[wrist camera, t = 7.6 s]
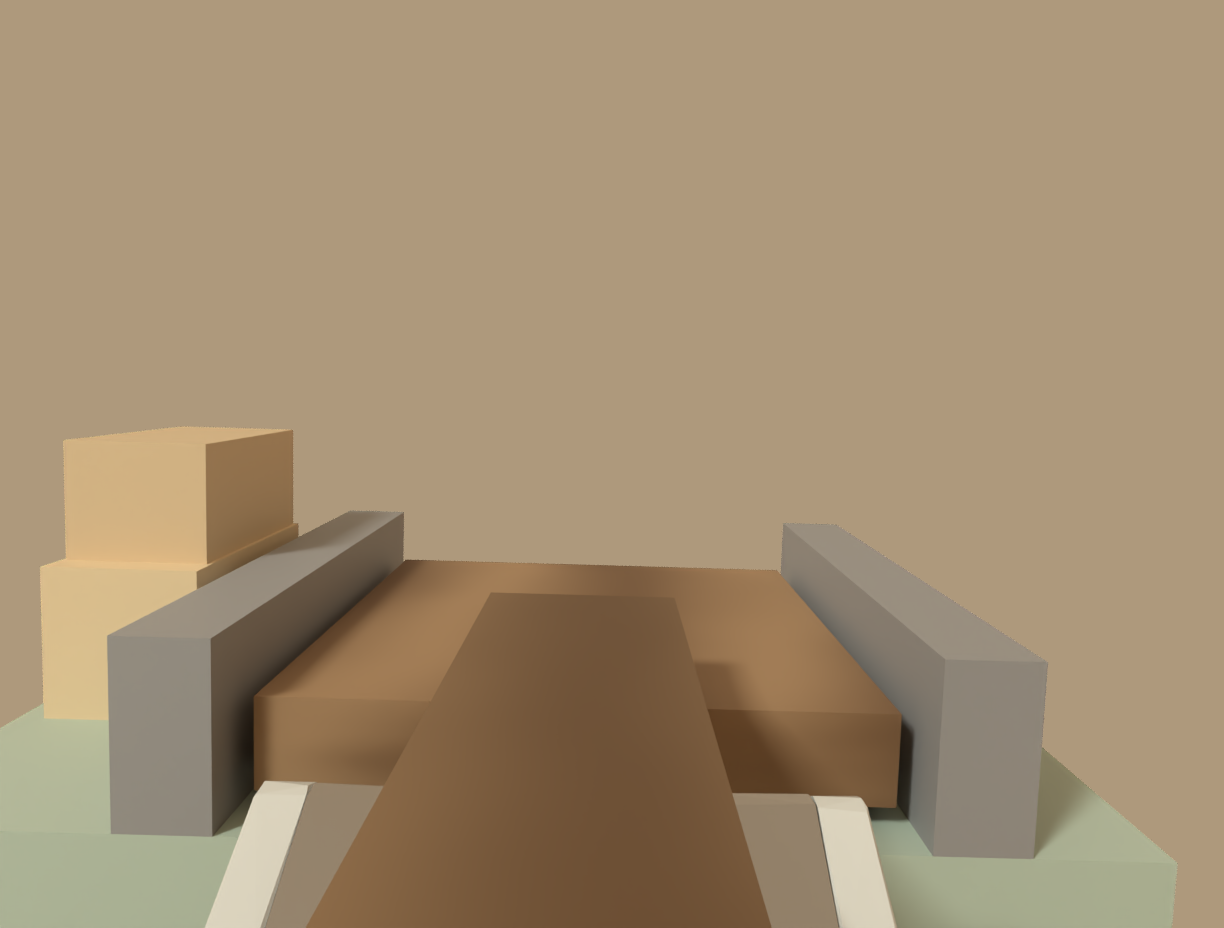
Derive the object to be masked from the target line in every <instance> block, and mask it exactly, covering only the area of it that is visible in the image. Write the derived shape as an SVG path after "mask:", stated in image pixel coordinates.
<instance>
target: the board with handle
mask: <svg viewBox="0 0 1224 928" xmlns="http://www.w3.org/2000/svg"><path fill="white" fill-rule="evenodd" d="M901 721H902V714H901V713H900V712H899V711H898V709H897V708H896V707H895V706H894V705H893V704H892V703H891V701H890V700H889V699H888V698H887V697H886V696H885V694H884V693H883V692H882V691H881V690H880V689H879V688H878V686H877V685H876V684H875V683H874V682H873V681H872V679H871V678H870V677H869V676H868V675H867V674H866V673H865V671H864V670H863V669H862V668H861V667H860V666H859V664H858V663H857V662H856V661H855V660H854V659H853V658H852V656H851V655H850V654H849V653H848V652H847V651H846V649H845V648H844V647H843V646H842V645H841V644H840V643H839V641H838V640H837V639H836V638H835V637H834V636H833V634H832V633H831V632H830V631H829V630H828V629H827V628H826V626H825V625H824V624H823V623H822V622H821V621H820V619H819V618H818V617H817V616H816V615H815V614H814V613H813V611H812V610H811V609H810V608H809V607H808V606H807V604H806V603H805V602H804V601H803V600H802V599H801V598H800V596H799V595H798V594H797V593H796V592H795V591H794V589H793V588H792V587H791V586H790V585H789V584H788V583H787V581H786V580H785V579H784V578H783V577H782V576H781V574H779V572H778V571H777V570H745V569H711V568H677V567H676V568H675V567H642V566H608V565H572V564H537V563H503V562H469V561H468V562H467V561H466V562H465V561H434V560H405V561H404V562H403V563H402V564H401V565H400V566H399V567H397V568H396V569H395V570H394V571H393V572H392V573H391V574H390V575H389V576H387V577H386V578H385V579H384V580H383V581H382V582H381V583H380V584H378V585H377V586H376V587H375V588H374V589H373V590H372V591H371V592H370V593H368V594H367V595H366V596H365V597H364V598H363V599H362V600H361V601H359V602H358V603H357V604H356V605H355V606H354V607H353V608H352V609H351V610H349V611H348V612H347V613H346V614H345V615H344V616H343V617H342V618H340V619H339V620H338V621H337V622H336V623H335V624H334V625H333V626H332V627H330V628H329V629H328V630H327V631H326V632H325V633H324V634H323V635H322V636H320V637H319V638H318V639H317V640H316V641H315V642H314V643H313V644H311V645H310V646H309V647H308V648H307V649H306V650H305V651H304V652H303V653H301V654H300V655H299V656H298V657H297V658H296V659H295V660H294V661H292V662H291V663H290V664H289V665H288V666H287V667H286V668H285V669H284V670H282V671H281V672H280V673H279V674H278V675H277V676H276V677H275V678H273V679H272V680H271V681H270V682H269V683H268V684H267V685H266V686H265V687H263V688H262V689H261V690H260V691H259V692H258V693H257V694H256V695H255V696H254V790H259V789H260V787H261V786H262V784H263V783H264V782H265V781H294V782H317V783H338V784H363V785H384V787H383V788H382V790H381V792H380V794H379V796H378V797H377V799H376V801H375V803H374V805H373V807H372V808H371V810H370V812H369V814H368V816H367V817H366V819H365V821H364V823H363V825H362V826H361V828H360V830H359V832H358V834H357V835H356V837H355V839H354V841H353V843H352V845H351V846H350V848H349V850H348V852H347V854H346V855H345V857H344V859H343V861H342V863H341V864H340V866H339V868H338V870H337V872H336V873H335V875H334V877H333V879H332V881H331V883H330V884H329V886H328V888H327V890H326V892H325V893H324V895H323V897H322V899H321V901H320V902H319V904H318V906H317V908H316V910H315V911H314V913H313V915H312V917H311V919H310V921H309V922H308V924H307V926H306V928H772V927H771V923H770V920H769V917H768V913H767V910H766V906H765V903H764V900H763V896H762V893H761V889H760V886H759V883H758V879H757V876H756V872H755V869H754V866H753V862H752V859H751V855H750V852H749V849H748V845H747V842H746V839H745V835H744V832H743V828H742V825H741V822H740V818H739V815H738V811H737V808H736V805H735V801H734V798H733V794H732V793H759V794H809V796H858V797H860V798H862V800H863V801H864V803H865V804H866V806H867V807H881V808H896V805H897V788H898V771H899V754H900V737H901Z"/></svg>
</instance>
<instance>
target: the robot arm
mask: <svg viewBox="0 0 1224 928" xmlns="http://www.w3.org/2000/svg"><path fill="white" fill-rule="evenodd" d="M383 787H384V785H363V784H338V783H317V782H294V781H265V782H264V783H263V784H262V786H261V787H260V789H259V790H258V791H257V793H256V794H255V796H254V797H253V800H252V803H251V805H250V808H249V811H248V813H247V816H246V819H245V821H244V824H243V827H242V829H241V832H240V835H239V837H238V840H237V843H236V845H235V848H234V851H233V853H232V856H231V859H230V862H229V864H228V867H227V870H226V872H225V875H224V878H223V880H222V883H221V886H220V888H219V891H218V894H217V896H216V899H215V902H214V904H213V907H212V910H211V912H210V915H209V918H208V920H207V923H206V926H205V928H306V926H307V924H308V922H309V921H310V919H311V917H312V915H313V913H314V911H315V910H316V908H317V906H318V904H319V902H320V901H321V899H322V897H323V895H324V893H325V892H326V890H327V888H328V886H329V884H330V883H331V881H332V879H333V877H334V875H335V873H336V872H337V870H338V868H339V866H340V864H341V863H342V861H343V859H344V857H345V855H346V854H347V852H348V850H349V848H350V846H351V845H352V843H353V841H354V839H355V837H356V835H357V834H358V832H359V830H360V828H361V826H362V825H363V823H364V821H365V819H366V817H367V816H368V814H369V812H370V810H371V808H372V807H373V805H374V803H375V801H376V799H377V797H378V796H379V794H380V792H381V790H382V788H383ZM732 794H733V798H734V801H735V805H736V808H737V811H738V815H739V818H740V822H741V825H742V828H743V832H744V835H745V839H746V842H747V845H748V849H749V852H750V855H751V859H752V862H753V866H754V869H755V872H756V876H757V879H758V883H759V886H760V889H761V893H762V896H763V900H764V903H765V906H766V910H767V913H768V917H769V920H770V923H771V927H772V928H897V925H896V921H895V917H894V913H893V909H892V905H891V901H890V897H889V893H888V889H887V885H886V880H885V876H884V872H883V868H882V864H881V860H880V856H879V852H878V848H877V844H876V840H875V835H874V831H873V827H872V823H871V819H870V815H869V811H868V807H867V806H866V804H865V803H864V801H863V800H862V798H860V797H858V796H809V794H759V793H732Z"/></svg>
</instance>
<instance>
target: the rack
mask: <svg viewBox="0 0 1224 928" xmlns="http://www.w3.org/2000/svg"><path fill="white" fill-rule="evenodd" d="M63 447H64V488H65V489H64V491H65V531H66V532H65V533H66V558H65V559H62V560H59V561H56V562H53V563H50V564H47V565H44V566H41V567H40V582H41V622H42V661H43V701H44V703H43V704H41V705H40V706H38V707H36V708H34V709H33V710H31V711H29V712H27V713H26V714H24V715H22V716H21V717H19V718H17V719H15V720H13V721H12V722H10V723H8V724H7V725H5V726H3V727H1V728H0V928H205V926H206V923H207V920H208V918H209V915H210V912H211V910H212V907H213V904H214V902H215V899H216V896H217V894H218V891H219V888H220V886H221V883H222V880H223V878H224V875H225V872H226V870H227V867H228V864H229V862H230V859H231V856H232V853H233V851H234V848H235V845H236V843H237V840H238V837H239V835H240V832H241V829H242V827H243V824H244V821H245V819H246V816H247V813H248V811H249V808H250V805H251V803H252V800H253V797H254V796H255V794H256V793H257V791H258V790H254V696H255V695H256V694H257V693H258V692H259V691H260V690H261V689H262V688H263V687H265V686H266V685H267V684H268V683H269V682H270V681H271V680H272V679H273V678H275V677H276V676H277V675H278V674H279V673H280V672H281V671H282V670H284V669H285V668H286V667H287V666H288V665H289V664H290V663H291V662H292V661H294V660H295V659H296V658H297V657H298V656H299V655H300V654H301V653H303V652H304V651H305V650H306V649H307V648H308V647H309V646H310V645H311V644H313V643H314V642H315V641H316V640H317V639H318V638H319V637H320V636H322V635H323V634H324V633H325V632H326V631H327V630H328V629H329V628H330V627H332V626H333V625H334V624H335V623H336V622H337V621H338V620H339V619H340V618H342V617H343V616H344V615H345V614H346V613H347V612H348V611H349V610H351V609H352V608H353V607H354V606H355V605H356V604H357V603H358V602H359V601H361V600H362V599H363V598H364V597H365V596H366V595H367V594H368V593H370V592H371V591H372V590H373V589H374V588H375V587H376V586H377V585H378V584H380V583H381V582H382V581H383V580H384V579H385V578H386V577H387V576H389V575H390V574H391V573H392V572H393V571H394V570H395V569H396V568H397V567H399V566H400V565H401V564H402V563H403V536H404V531H403V530H404V512H380V511H377V512H376V511H349V512H347V513H345V514H343V515H341V516H339V517H337V518H335V519H333V520H331V521H329V522H327V523H325V524H323V525H321V526H320V527H318V528H316V529H314V530H312V531H310V532H308V533H306V534H304V535H302V536H300V537H298V524H296V523H293V430H284V429H249V428H216V427H215V428H214V427H173V428H164V429H156V430H147V431H138V432H130V433H120V434H112V435H103V436H94V437H86V438H77V439H68V440H63ZM782 539H783V540H782V560H781V576H782V577H783V578H784V579H785V580H786V581H787V583H788V584H789V585H790V586H791V587H792V588H793V589H794V591H795V592H796V593H797V594H798V595H799V596H800V598H801V599H802V600H803V601H804V602H805V603H806V604H807V606H808V607H809V608H810V609H811V610H812V611H813V613H814V614H815V615H816V616H817V617H818V618H819V619H820V621H821V622H822V623H823V624H824V625H825V626H826V628H827V629H828V630H829V631H830V632H831V633H832V634H833V636H834V637H835V638H836V639H837V640H838V641H839V643H840V644H841V645H842V646H843V647H844V648H845V649H846V651H847V652H848V653H849V654H850V655H851V656H852V658H853V659H854V660H855V661H856V662H857V663H858V664H859V666H860V667H861V668H862V669H863V670H864V671H865V673H866V674H867V675H868V676H869V677H870V678H871V679H872V681H873V682H874V683H875V684H876V685H877V686H878V688H879V689H880V690H881V691H882V692H883V693H884V694H885V696H886V697H887V698H888V699H889V700H890V701H891V703H892V704H893V705H894V706H895V707H896V708H897V709H898V711H899V712H900V713H901V714H902V721H901V737H900V754H899V771H898V788H897V805H896V808H881V807H868V811H869V815H870V819H871V823H872V827H873V831H874V835H875V840H876V844H877V848H878V852H879V856H880V860H881V864H882V868H883V872H884V876H885V880H886V885H887V889H888V893H889V897H890V901H891V905H892V909H893V913H894V917H895V921H896V925H897V928H1172V921H1173V909H1174V898H1175V886H1176V875H1177V862H1176V861H1174V860H1173V859H1172V858H1171V857H1170V856H1168V855H1167V854H1166V853H1165V852H1164V851H1163V850H1162V849H1160V848H1159V847H1158V846H1157V845H1156V844H1154V843H1153V842H1152V841H1151V840H1150V839H1148V837H1146V836H1145V835H1144V834H1143V833H1142V832H1141V831H1139V830H1138V829H1137V828H1136V827H1135V826H1133V825H1132V824H1131V823H1130V822H1129V821H1128V820H1126V819H1125V818H1124V817H1123V816H1122V815H1121V814H1119V813H1118V812H1117V811H1116V810H1115V809H1114V808H1112V807H1111V806H1110V805H1109V804H1108V803H1107V802H1105V801H1104V800H1103V799H1102V798H1101V797H1100V796H1098V795H1097V794H1096V793H1095V792H1094V791H1093V790H1091V789H1090V788H1089V787H1088V786H1087V785H1086V784H1084V783H1083V782H1082V781H1081V780H1080V779H1079V778H1077V777H1076V776H1075V775H1074V774H1073V773H1072V772H1070V771H1069V770H1068V769H1067V768H1066V767H1065V766H1063V765H1062V764H1061V763H1060V762H1059V761H1057V760H1056V759H1055V758H1054V757H1053V756H1052V755H1050V754H1049V753H1048V752H1047V751H1046V750H1045V749H1044V748H1042V737H1043V723H1044V708H1045V695H1046V682H1047V667H1048V662H1046V661H1045V660H1043V659H1042V658H1040V657H1039V656H1037V655H1036V654H1034V653H1033V652H1031V651H1030V650H1028V649H1027V648H1025V647H1023V646H1022V645H1020V644H1019V643H1017V642H1016V641H1014V640H1013V639H1011V638H1009V637H1008V636H1007V635H1005V634H1004V633H1002V632H1000V631H999V630H997V629H996V628H994V627H993V626H991V625H990V624H988V623H987V622H985V621H983V620H982V619H980V618H979V617H977V616H976V615H974V614H973V613H971V612H970V611H968V610H967V609H965V608H963V607H962V606H960V605H959V604H957V603H956V602H954V601H953V600H951V599H950V598H948V597H947V596H945V595H944V594H942V593H940V592H939V591H937V590H936V589H934V588H933V587H931V586H930V585H928V584H927V583H925V582H924V581H922V580H921V579H919V578H917V577H916V576H914V575H913V574H911V573H910V572H908V571H907V570H905V569H904V568H902V567H900V566H899V565H897V564H896V563H894V562H893V561H891V560H890V559H888V558H887V557H885V556H884V555H882V554H880V553H879V552H877V551H876V550H874V549H873V548H871V547H870V546H868V545H867V544H865V543H863V542H862V541H861V540H859V539H857V538H856V537H854V536H853V535H851V534H850V533H848V532H846V531H845V530H844V529H842V528H840V527H839V526H837V525H827V524H794V523H784V524H783V538H782Z"/></svg>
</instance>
